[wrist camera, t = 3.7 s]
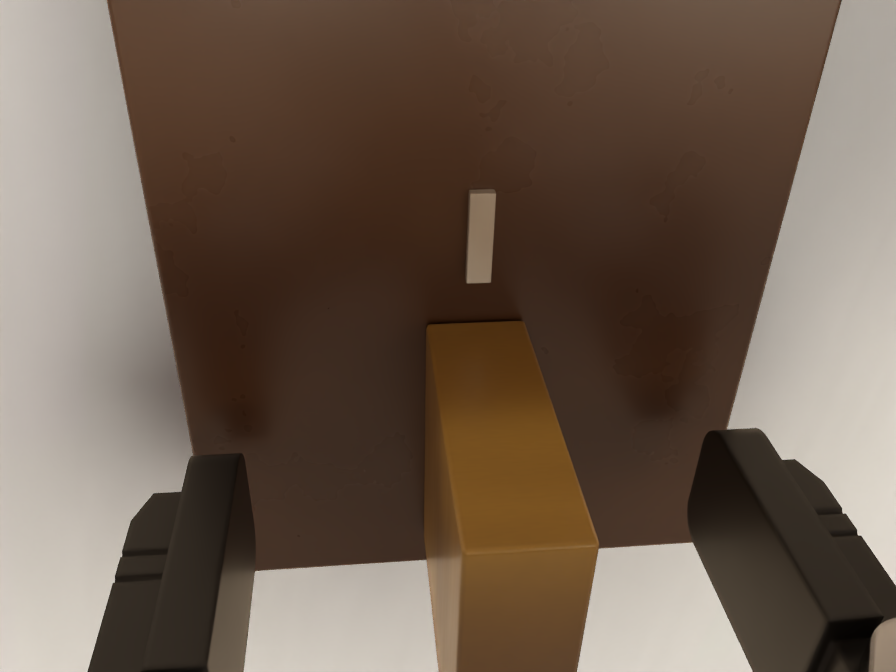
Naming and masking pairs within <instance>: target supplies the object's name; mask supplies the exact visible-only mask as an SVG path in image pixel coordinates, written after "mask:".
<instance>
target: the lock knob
mask: <svg viewBox="0 0 896 672" xmlns="http://www.w3.org/2000/svg"><path fill="white" fill-rule="evenodd" d="M424 541H425V550H426V559H427V568H428V577H429V587H430V596H431V605H432V614H433V624H434V633H435V642H436V651H437V661H438V670H439V672H577V668H578V662H579V656H580V651H581V645H582V639H583V634H584V628H585V622H586V617H587V611H588V606H589V600H590V594H591V589H592V583H593V577H594V572H595V566H596V560H597V555H598V549H599V541H598V538H597V535H596V532H595V529H594V526H593V523H592V520H591V517H590V514H589V511H588V508H587V505H586V502H585V499H584V496H583V494H582V491H581V488H580V485H579V482H578V479H577V476H576V473H575V470H574V467H573V464H572V461H571V458H570V455H569V452H568V449H567V446H566V443H565V440H564V437H563V435H562V432H561V429H560V426H559V423H558V420H557V417H556V414H555V411H554V408H553V405H552V402H551V399H550V396H549V393H548V390H547V387H546V384H545V381H544V378H543V376H542V373H541V370H540V367H539V364H538V361H537V358H536V355H535V352H534V349H533V346H532V343H531V340H530V337H529V334H528V331H527V328H526V325H525V323H524V322H523V321H503V322H475V323H448V324H429V325H428V326H427V328H426V394H425V483H424Z"/></svg>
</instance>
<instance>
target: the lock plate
mask: <svg viewBox="0 0 896 672" xmlns="http://www.w3.org/2000/svg"><path fill="white" fill-rule="evenodd" d="M841 1H842V0H107V4H108V10H109V15H110V20H111V26H112V31H113V36H114V41H115V47H116V52H117V57H118V62H119V68H120V73H121V78H122V83H123V89H124V94H125V99H126V104H127V110H128V115H129V120H130V125H131V131H132V136H133V141H134V146H135V152H136V157H137V162H138V167H139V173H140V178H141V183H142V188H143V194H144V199H145V204H146V209H147V215H148V220H149V225H150V230H151V236H152V241H153V246H154V252H155V257H156V262H157V267H158V273H159V278H160V283H161V288H162V294H163V299H164V304H165V309H166V315H167V320H168V325H169V330H170V336H171V341H172V346H173V351H174V357H175V362H176V367H177V372H178V378H179V383H180V388H181V393H182V399H183V404H184V409H185V414H186V420H187V425H188V430H189V435H190V441H191V446H192V451H193V456H196V455H216V454H235V453H242V454H243V455H244V459H245V464H246V470H247V477H248V484H249V491H250V498H251V505H252V512H253V519H254V526H255V538H256V561H255V571H261V570H277V569H292V568H307V567H323V566H338V565H353V564H369V563H384V562H400V561H415V560H427V559H426V550H425V541H424V483H425V394H426V328H427V326H428V325H429V324H448V323H475V322H503V321H523V322H524V323H525V325H526V328H527V331H528V334H529V337H530V340H531V343H532V346H533V349H534V352H535V355H536V358H537V361H538V364H539V367H540V370H541V373H542V376H543V378H544V381H545V384H546V387H547V390H548V393H549V396H550V399H551V402H552V405H553V408H554V411H555V414H556V417H557V420H558V423H559V426H560V429H561V432H562V435H563V437H564V440H565V443H566V446H567V449H568V452H569V455H570V458H571V461H572V464H573V467H574V470H575V473H576V476H577V479H578V482H579V485H580V488H581V491H582V494H583V496H584V499H585V502H586V505H587V508H588V511H589V514H590V517H591V520H592V523H593V526H594V529H595V532H596V535H597V538H598V541H599V548H615V547H630V546H645V545H661V544H676V543H691V542H693V541H692V538H691V535H690V531H689V526H688V519H687V506H688V499H689V495H690V491H691V487H692V483H693V479H694V475H695V471H696V467H697V463H698V459H699V455H700V451H701V447H702V443H703V440H704V437H705V435H706V434H707V433H708V432H709V431H712V430H727V426H728V423H729V419H730V415H731V411H732V408H733V404H734V400H735V396H736V393H737V389H738V385H739V381H740V378H741V374H742V370H743V367H744V363H745V359H746V355H747V352H748V348H749V344H750V340H751V337H752V333H753V329H754V325H755V322H756V318H757V314H758V311H759V307H760V303H761V299H762V296H763V292H764V288H765V284H766V281H767V277H768V273H769V269H770V266H771V262H772V258H773V255H774V251H775V247H776V243H777V240H778V236H779V232H780V228H781V225H782V221H783V217H784V213H785V210H786V206H787V202H788V199H789V195H790V191H791V187H792V184H793V180H794V176H795V172H796V169H797V165H798V161H799V157H800V154H801V150H802V146H803V143H804V139H805V135H806V131H807V128H808V124H809V120H810V116H811V113H812V109H813V105H814V101H815V98H816V94H817V90H818V87H819V83H820V79H821V75H822V72H823V68H824V64H825V60H826V57H827V53H828V49H829V45H830V42H831V38H832V34H833V31H834V27H835V23H836V19H837V16H838V12H839V8H840V4H841Z"/></svg>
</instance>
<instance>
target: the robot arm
mask: <svg viewBox="0 0 896 672" xmlns="http://www.w3.org/2000/svg"><path fill="white" fill-rule="evenodd" d="M687 519H688V526H689V531H690V535H691V538H692V541H693V543H694V546H695V548H696V550H697V552H698V554H699V556H700V559H701V561H702V563H703V565H704V567H705V569H706V571H707V574H708V576H709V578H710V580H711V582H712V584H713V587H714V589H715V591H716V593H717V595H718V597H719V599H720V602H721V604H722V606H723V608H724V610H725V612H726V615H727V617H728V619H729V621H730V623H731V625H732V627H733V630H734V632H735V634H736V636H737V638H738V640H739V642H740V645H741V647H742V649H743V651H744V653H745V655H746V658H747V660H748V662H749V664H750V666H751V668H752V670H753V672H896V585H895V584H894V583H893V581H892V580H891V578H890V577H889V575H888V574H887V572H886V571H885V570H884V568H883V567H882V565H881V564H880V562H879V561H878V559H877V558H876V557H875V555H874V554H873V552H872V551H871V549H870V548H869V546H868V545H867V544H866V542H865V541H864V539H863V538H862V536H858V535H857V529H856V528H855V526H854V525H853V523H852V522H851V521H850V519H849V518H848V516H847V515H846V514H843V513H842V508H841V506H840V505H839V503H838V502H837V500H836V499H835V497H834V496H833V495H832V493H831V492H830V490H829V489H828V487H827V486H826V484H825V483H824V482H823V481H822V480H821V479H819V478H818V477H817V476H815V475H814V474H813V473H812V472H810V471H809V470H808V469H807V468H805V467H804V466H803V465H801V464H800V463H799V462H798V461H796V460H795V459H793V460H782V459H781V458H780V456H779V455H778V453H777V452H776V450H775V449H774V447H773V446H772V444H771V443H770V441H769V440H768V438H767V436H766V435H765V434H764V433H763V432H762V431H761V430H760V429H757V428H750V429H731V430H712V431H709V432H708V433H707V434H706V435H705V437H704V440H703V443H702V447H701V451H700V455H699V459H698V463H697V467H696V471H695V475H694V479H693V483H692V487H691V491H690V495H689V499H688V506H687ZM255 561H256V538H255V526H254V519H253V512H252V505H251V498H250V491H249V484H248V477H247V470H246V464H245V459H244V455H243V454H242V453H235V454H216V455H196V456H191V457H190V459H189V462H188V465H187V470H186V474H185V479H184V483H183V487H182V492H171V493H154V494H153V495H152V496H151V497H150V498H149V500H148V501H147V502H146V503H145V504H144V506H143V507H142V508H141V509H140V511H139V512H138V513H137V514H136V515H135V517H134V518H133V519H132V520H131V523H130V526H129V529H128V533H127V536H126V540H125V543H124V547H123V550H122V557H120V561H119V564H118V568H117V571H116V575H115V583H113V585H112V589H111V592H110V596H109V599H108V602H107V606H106V609H105V613H104V616H103V620H102V623H101V627H100V630H99V634H98V637H97V641H96V644H95V648H94V651H93V655H92V658H91V662H90V665H89V669H88V672H244V663H245V654H246V645H247V636H248V627H249V618H250V609H251V600H252V591H253V582H254V573H255Z"/></svg>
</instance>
